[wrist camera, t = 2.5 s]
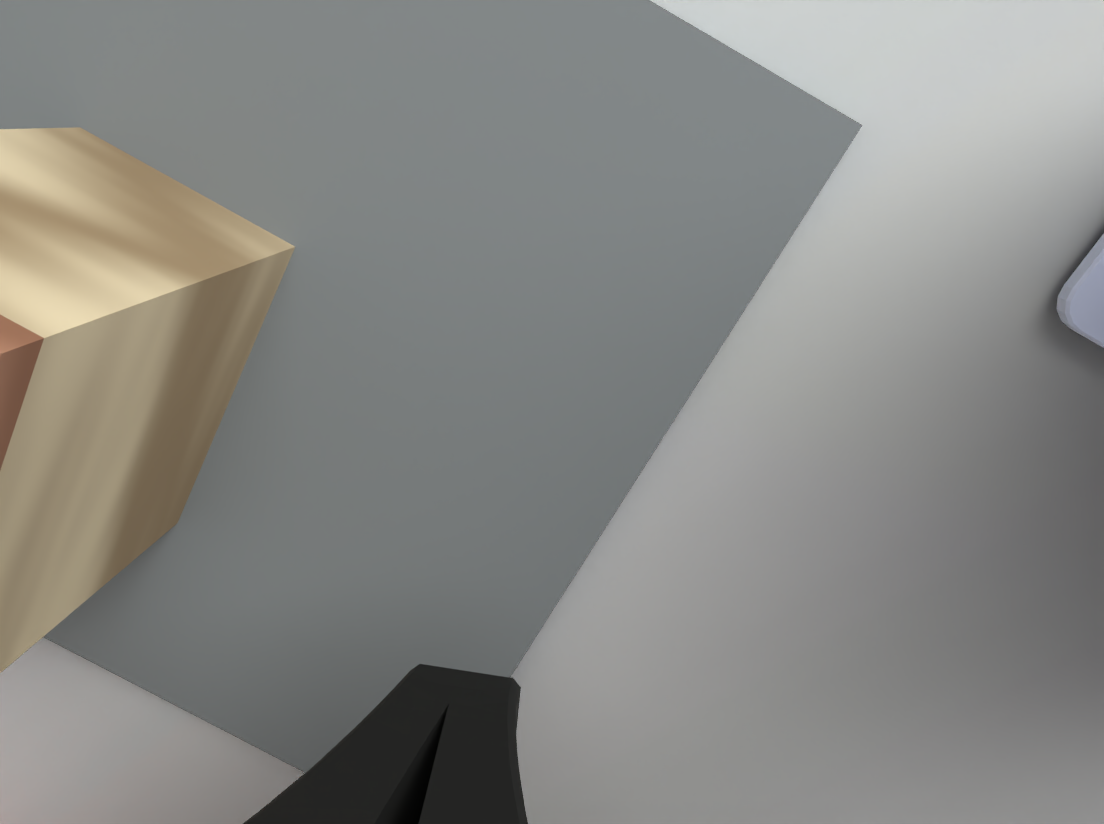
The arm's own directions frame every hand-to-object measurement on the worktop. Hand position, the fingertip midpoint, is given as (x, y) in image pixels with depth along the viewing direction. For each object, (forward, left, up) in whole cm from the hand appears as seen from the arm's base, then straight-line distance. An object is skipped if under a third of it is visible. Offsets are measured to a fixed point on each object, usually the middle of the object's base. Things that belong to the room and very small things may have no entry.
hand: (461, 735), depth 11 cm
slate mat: (+9, -1, -5) cm, 10 cm away
